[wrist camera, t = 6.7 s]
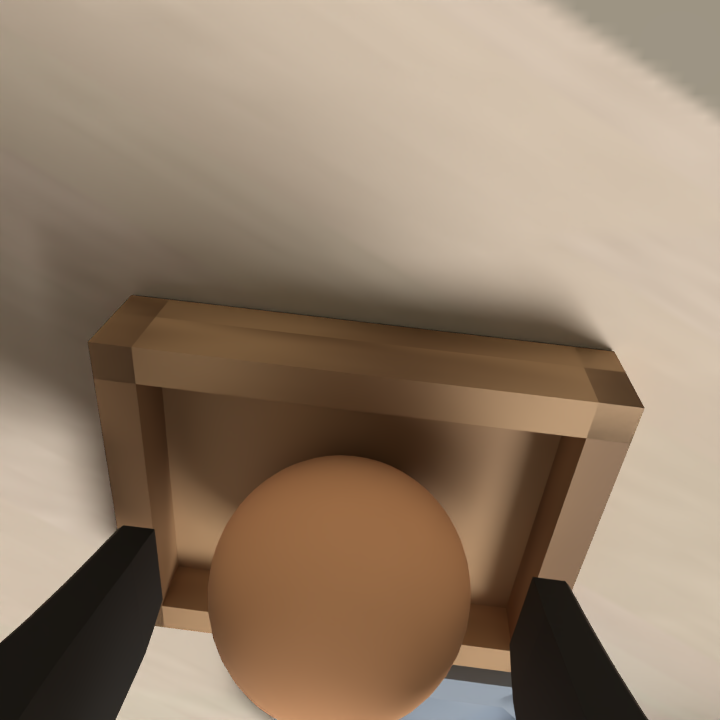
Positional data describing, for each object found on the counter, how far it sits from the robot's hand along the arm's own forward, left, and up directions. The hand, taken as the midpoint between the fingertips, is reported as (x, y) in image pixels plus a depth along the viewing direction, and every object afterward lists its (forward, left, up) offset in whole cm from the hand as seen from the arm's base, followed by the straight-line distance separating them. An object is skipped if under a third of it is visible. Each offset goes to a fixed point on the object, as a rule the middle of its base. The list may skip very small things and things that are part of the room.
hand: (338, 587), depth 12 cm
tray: (0, 0, -3) cm, 3 cm away
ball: (0, 0, -3) cm, 3 cm away
